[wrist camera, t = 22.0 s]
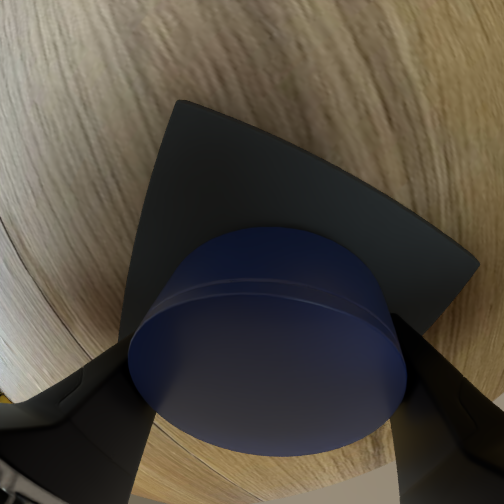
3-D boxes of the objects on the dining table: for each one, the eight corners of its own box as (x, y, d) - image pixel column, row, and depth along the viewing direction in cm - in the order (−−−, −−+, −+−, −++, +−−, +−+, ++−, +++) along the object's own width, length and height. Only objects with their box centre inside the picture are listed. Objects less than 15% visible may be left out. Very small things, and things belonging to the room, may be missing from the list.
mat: (473, 255, 8) (481, 264, 7) (320, 414, 12) (320, 424, 12) (184, 99, 7) (175, 99, 6) (122, 337, 12) (116, 346, 11)
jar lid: (150, 349, 10) (120, 407, 8) (198, 179, 7) (145, 225, 4) (313, 409, 11) (310, 468, 8) (428, 287, 7) (464, 358, 5)
